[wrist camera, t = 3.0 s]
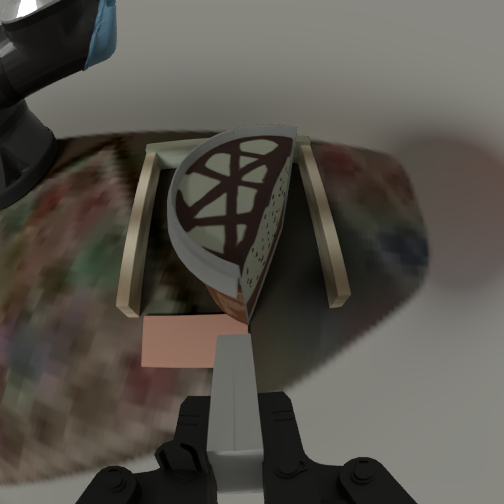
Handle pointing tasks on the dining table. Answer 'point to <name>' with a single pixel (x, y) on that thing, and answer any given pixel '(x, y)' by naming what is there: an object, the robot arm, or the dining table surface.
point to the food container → (232, 211)
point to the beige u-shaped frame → (171, 157)
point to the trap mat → (185, 339)
